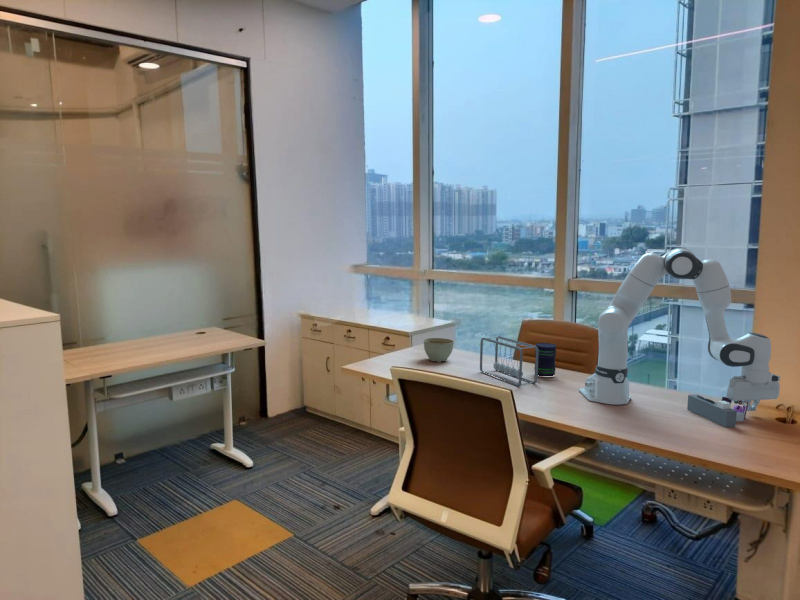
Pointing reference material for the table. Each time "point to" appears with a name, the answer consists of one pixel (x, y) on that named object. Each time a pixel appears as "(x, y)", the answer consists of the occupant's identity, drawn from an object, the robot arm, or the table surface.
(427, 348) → the planter bowl
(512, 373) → the newton's cradle
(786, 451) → the table surface
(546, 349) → the storage jar
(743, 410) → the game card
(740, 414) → the charging dock
